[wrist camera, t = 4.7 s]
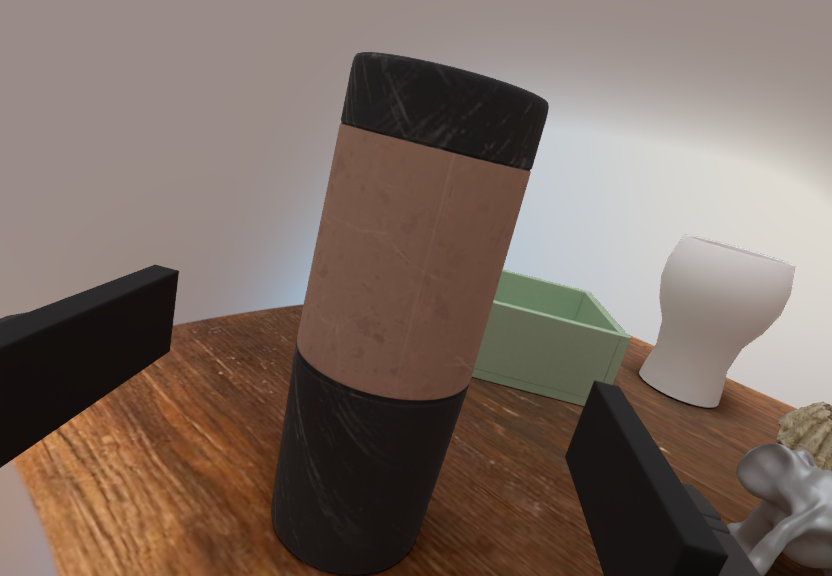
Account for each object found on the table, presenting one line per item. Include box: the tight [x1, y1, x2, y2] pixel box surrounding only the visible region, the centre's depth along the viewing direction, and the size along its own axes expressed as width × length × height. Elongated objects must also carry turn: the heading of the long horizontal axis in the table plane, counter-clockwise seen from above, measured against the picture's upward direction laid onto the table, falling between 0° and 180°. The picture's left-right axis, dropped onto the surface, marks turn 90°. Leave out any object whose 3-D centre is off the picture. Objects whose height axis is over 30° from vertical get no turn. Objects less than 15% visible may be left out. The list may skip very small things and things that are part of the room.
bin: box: [472, 270, 631, 406], centre depth 48 cm, size 14×14×7 cm
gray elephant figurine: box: [727, 443, 832, 576], centre depth 25 cm, size 9×12×8 cm
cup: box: [639, 235, 795, 408], centre depth 50 cm, size 11×11×15 cm
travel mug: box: [272, 52, 549, 575], centre depth 22 cm, size 8×8×20 cm
